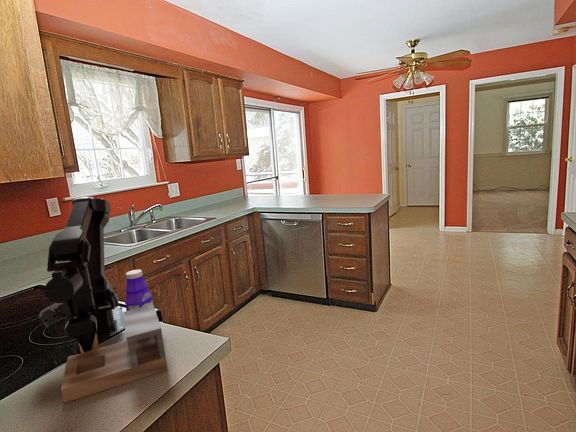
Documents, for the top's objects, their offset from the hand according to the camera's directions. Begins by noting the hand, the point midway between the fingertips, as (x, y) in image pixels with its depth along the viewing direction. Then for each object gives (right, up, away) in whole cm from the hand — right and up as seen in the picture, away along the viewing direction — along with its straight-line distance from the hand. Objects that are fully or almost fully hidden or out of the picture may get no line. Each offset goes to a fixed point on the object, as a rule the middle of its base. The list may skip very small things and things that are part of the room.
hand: (89, 346), depth 90 cm
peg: (0, -2, 0) cm, 2 cm away
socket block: (+11, -2, -8) cm, 13 cm away
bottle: (+10, 0, +10) cm, 14 cm away
